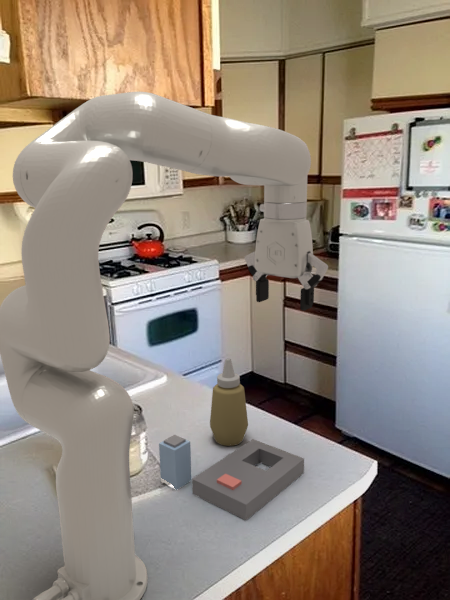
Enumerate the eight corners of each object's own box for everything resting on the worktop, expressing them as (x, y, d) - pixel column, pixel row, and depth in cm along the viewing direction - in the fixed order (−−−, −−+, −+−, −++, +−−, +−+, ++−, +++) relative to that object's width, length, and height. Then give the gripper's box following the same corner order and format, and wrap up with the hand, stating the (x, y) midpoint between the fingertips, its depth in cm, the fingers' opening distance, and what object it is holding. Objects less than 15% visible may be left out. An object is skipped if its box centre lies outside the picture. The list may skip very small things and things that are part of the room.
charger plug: (176, 490, 100) (174, 447, 97) (160, 482, 102) (158, 440, 100) (191, 480, 102) (190, 439, 100) (176, 472, 105) (174, 432, 103)
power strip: (246, 520, 91) (246, 501, 90) (192, 493, 98) (191, 475, 97) (303, 472, 104) (304, 455, 103) (252, 452, 112) (252, 436, 111)
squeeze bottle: (215, 452, 112) (213, 369, 108) (206, 433, 120) (204, 355, 115) (253, 446, 114) (253, 364, 110) (241, 428, 122) (241, 351, 117)
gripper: (234, 211, 101) (234, 301, 105) (317, 216, 91) (314, 317, 95) (257, 207, 107) (257, 293, 111) (339, 212, 96) (335, 307, 101)
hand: (283, 304), depth 103 cm, fingers open, 9 cm apart
